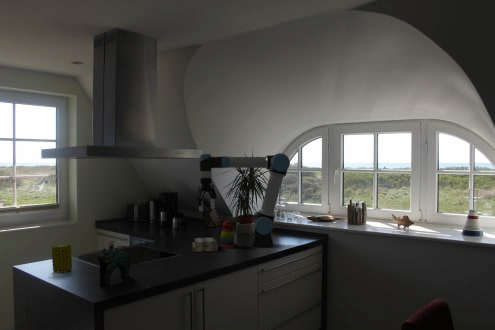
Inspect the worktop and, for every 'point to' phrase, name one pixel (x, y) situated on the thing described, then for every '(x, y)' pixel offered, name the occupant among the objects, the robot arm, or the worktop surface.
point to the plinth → (206, 248)
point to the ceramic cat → (113, 263)
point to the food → (61, 258)
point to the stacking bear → (227, 235)
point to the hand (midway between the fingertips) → (207, 209)
